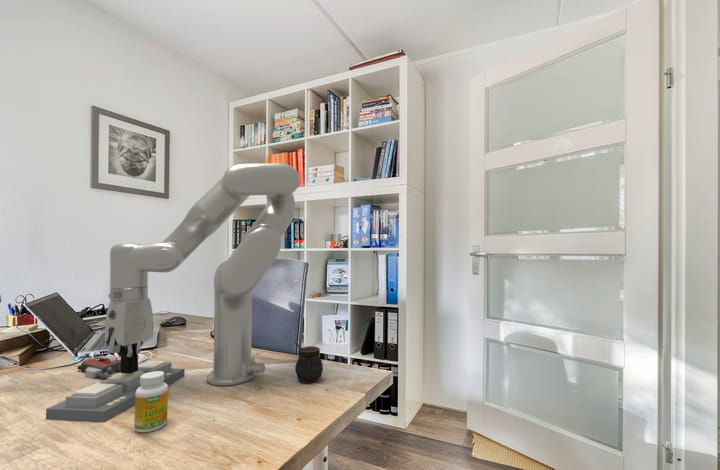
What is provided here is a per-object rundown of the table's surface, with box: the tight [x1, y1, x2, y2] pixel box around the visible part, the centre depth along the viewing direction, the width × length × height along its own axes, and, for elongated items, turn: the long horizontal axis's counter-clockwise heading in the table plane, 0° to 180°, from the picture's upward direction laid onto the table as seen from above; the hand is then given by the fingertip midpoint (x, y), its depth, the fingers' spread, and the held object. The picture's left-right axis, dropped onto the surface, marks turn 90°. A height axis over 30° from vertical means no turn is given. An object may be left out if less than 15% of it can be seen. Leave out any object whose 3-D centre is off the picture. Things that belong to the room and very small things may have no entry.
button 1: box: [138, 360, 167, 370], centre depth 87 cm, size 5×5×2 cm
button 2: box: [106, 371, 144, 382], centre depth 79 cm, size 5×5×2 cm
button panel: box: [45, 361, 186, 423], centre depth 79 cm, size 13×25×4 cm, turn 173°
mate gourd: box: [293, 341, 324, 384], centre depth 88 cm, size 7×8×10 cm
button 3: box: [73, 382, 116, 397], centre depth 72 cm, size 5×5×2 cm
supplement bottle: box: [133, 371, 169, 433], centre depth 65 cm, size 5×5×10 cm
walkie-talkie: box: [77, 354, 121, 380], centre depth 95 cm, size 9×4×20 cm
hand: (129, 372), depth 80 cm, fingers closed
